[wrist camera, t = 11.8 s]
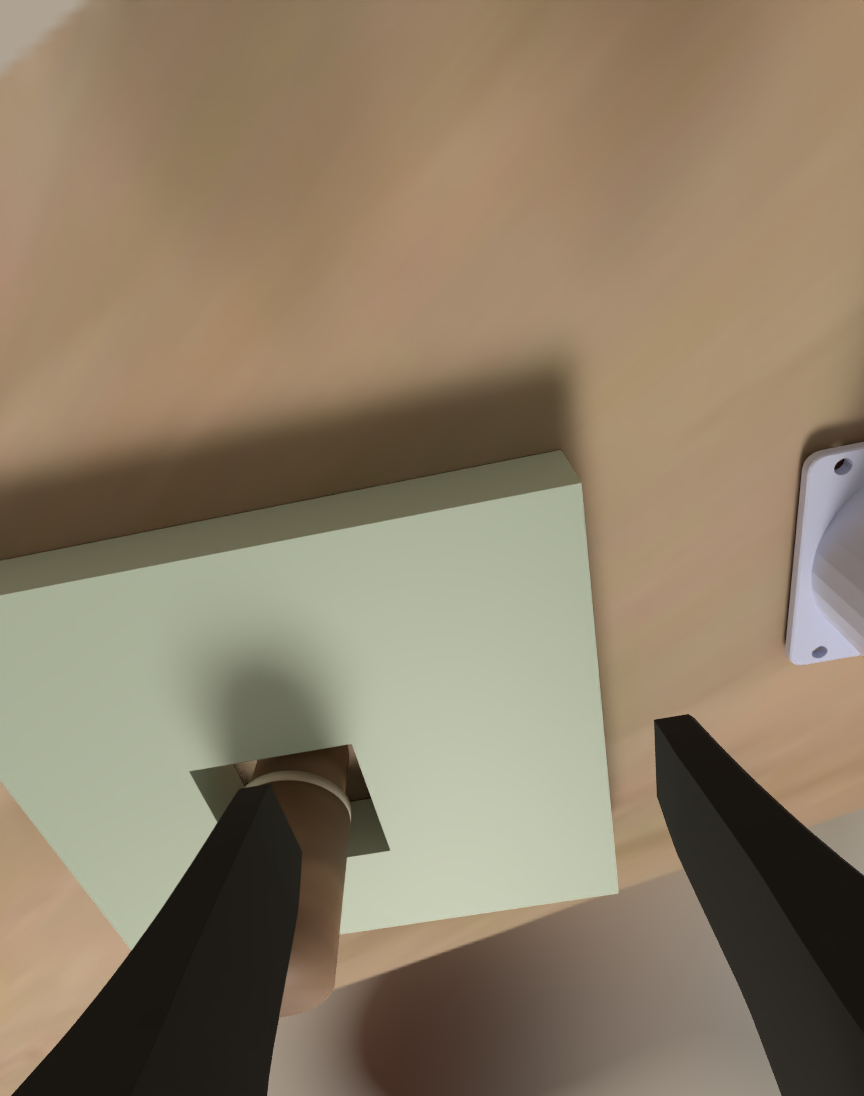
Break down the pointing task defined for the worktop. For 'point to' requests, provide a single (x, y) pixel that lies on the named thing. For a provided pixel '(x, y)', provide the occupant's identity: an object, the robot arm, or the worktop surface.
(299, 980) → the walnut leg
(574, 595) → the socket board
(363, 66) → the worktop surface
